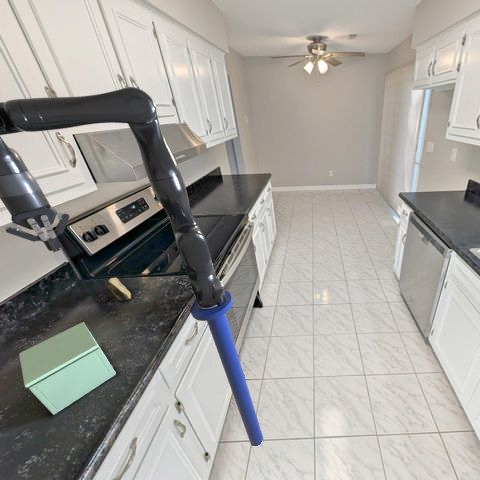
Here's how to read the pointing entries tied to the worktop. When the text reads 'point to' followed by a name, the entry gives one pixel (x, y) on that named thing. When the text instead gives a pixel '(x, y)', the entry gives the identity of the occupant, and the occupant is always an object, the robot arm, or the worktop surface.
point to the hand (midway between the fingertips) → (56, 250)
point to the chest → (73, 380)
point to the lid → (55, 353)
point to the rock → (118, 289)
